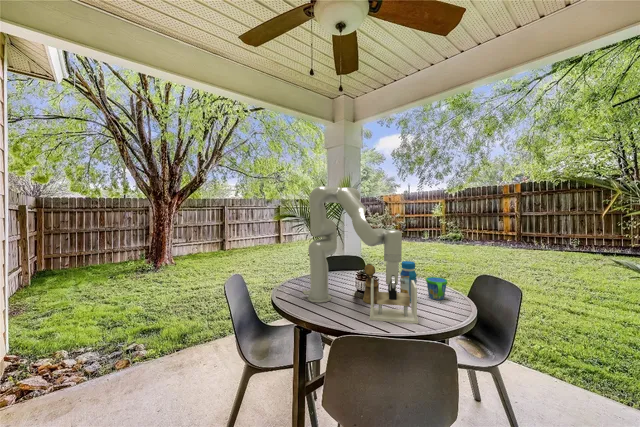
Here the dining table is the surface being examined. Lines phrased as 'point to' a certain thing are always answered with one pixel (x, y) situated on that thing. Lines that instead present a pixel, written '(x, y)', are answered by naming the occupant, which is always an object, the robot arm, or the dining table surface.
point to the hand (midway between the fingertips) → (392, 295)
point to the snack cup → (436, 287)
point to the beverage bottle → (407, 277)
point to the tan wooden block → (402, 300)
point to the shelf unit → (395, 314)
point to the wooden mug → (370, 271)
